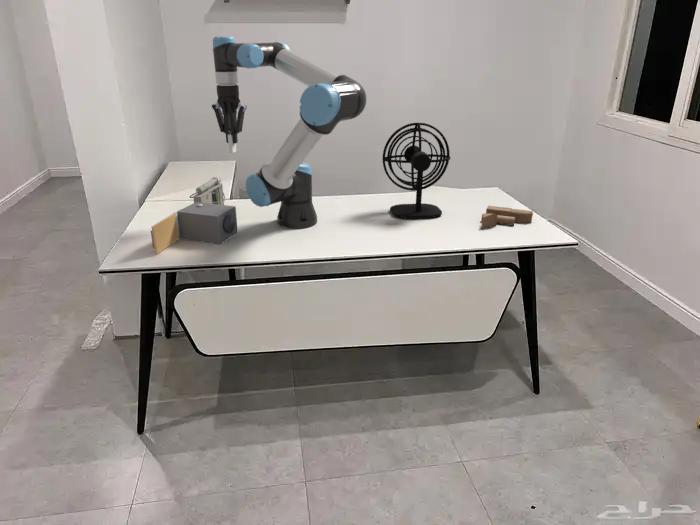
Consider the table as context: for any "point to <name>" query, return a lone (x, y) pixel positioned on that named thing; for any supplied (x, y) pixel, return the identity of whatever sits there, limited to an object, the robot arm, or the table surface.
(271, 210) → the table surface
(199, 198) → the geiger counter
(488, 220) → the wooden block set
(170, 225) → the side door
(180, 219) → the camera housing
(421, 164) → the desk fan
